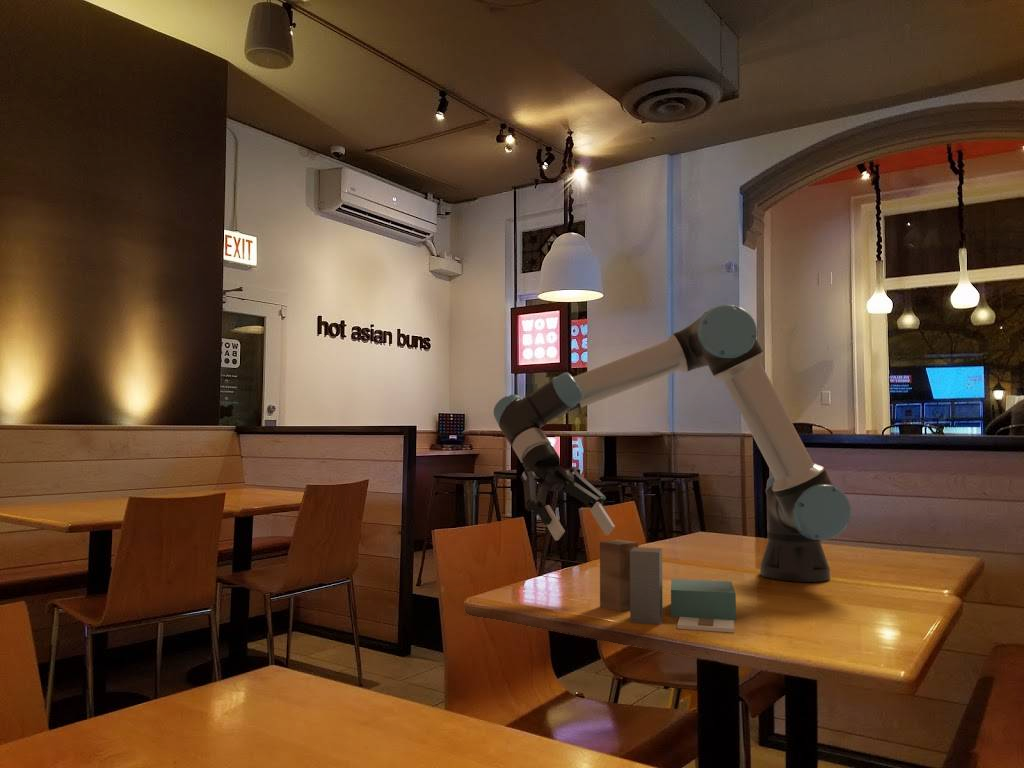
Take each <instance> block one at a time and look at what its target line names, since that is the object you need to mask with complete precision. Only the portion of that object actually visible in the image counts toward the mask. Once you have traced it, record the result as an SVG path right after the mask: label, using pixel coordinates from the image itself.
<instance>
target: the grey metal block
mask: <svg viewBox="0 0 1024 768" xmlns="http://www.w3.org/2000/svg"><path fill="white" fill-rule="evenodd" d="M663 602H664V601H663V549H662V548H659V547H640V546H638V547H633V548H632V549H631V551H630V610H629V611H630V612H629V613H630V614H629V615H630V616H629V618H630V619H629V621H630V623H633V624H648V625H661V623H662V620H663V616H664V613H663V611H664V610H663V606H664V605H663V604H664V603H663Z"/></svg>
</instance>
